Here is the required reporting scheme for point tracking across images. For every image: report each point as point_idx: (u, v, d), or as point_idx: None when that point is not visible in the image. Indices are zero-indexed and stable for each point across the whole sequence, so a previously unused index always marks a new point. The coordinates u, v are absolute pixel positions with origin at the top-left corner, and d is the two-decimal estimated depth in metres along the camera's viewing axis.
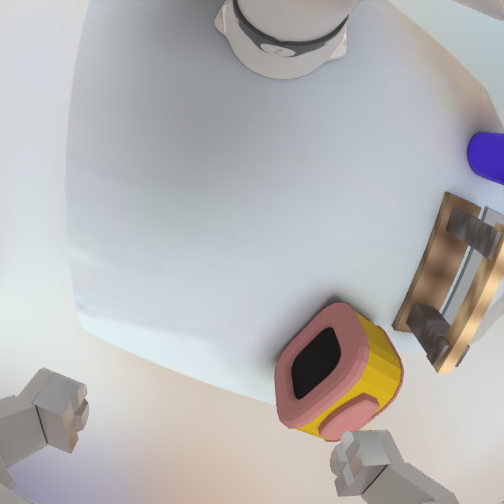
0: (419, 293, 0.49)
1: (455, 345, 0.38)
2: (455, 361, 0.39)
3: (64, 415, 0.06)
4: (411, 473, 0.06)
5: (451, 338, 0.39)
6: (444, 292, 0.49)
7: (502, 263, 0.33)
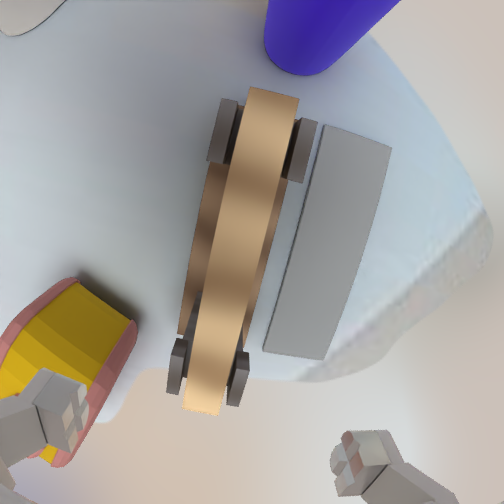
0: (200, 273, 0.34)
1: (194, 359, 0.22)
2: (218, 395, 0.23)
3: (64, 415, 0.06)
4: (411, 473, 0.06)
5: None
6: None
7: (257, 169, 0.18)
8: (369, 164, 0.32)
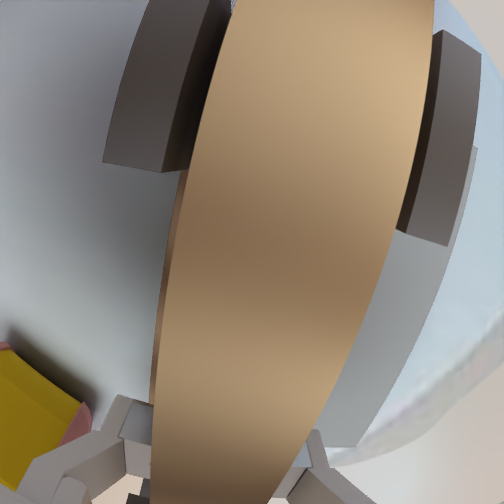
0: None
1: None
2: None
3: None
4: (334, 481, 0.06)
5: None
6: None
7: (310, 197, 0.04)
8: None
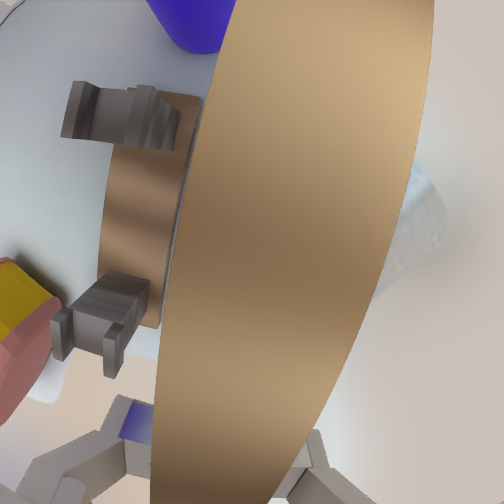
0: (110, 252, 0.33)
1: None
2: None
3: None
4: (334, 481, 0.06)
5: None
6: (159, 253, 0.33)
7: (309, 200, 0.04)
8: None
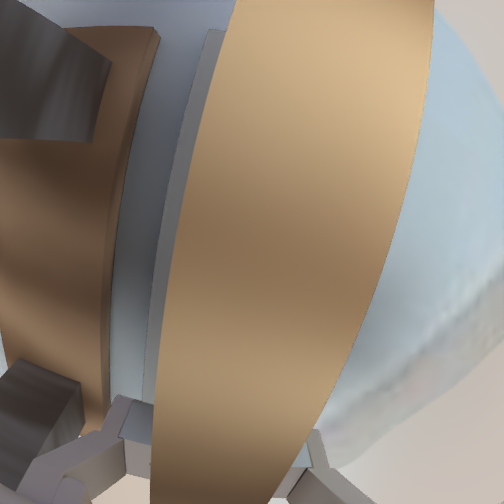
0: (14, 332, 0.15)
1: None
2: None
3: None
4: (334, 481, 0.06)
5: None
6: (86, 344, 0.15)
7: (309, 203, 0.04)
8: None
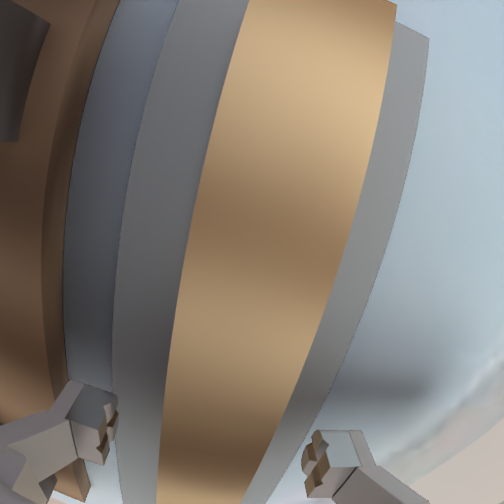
0: None
1: None
2: None
3: (100, 428, 0.06)
4: (382, 477, 0.06)
5: None
6: (40, 408, 0.10)
7: (289, 191, 0.06)
8: None
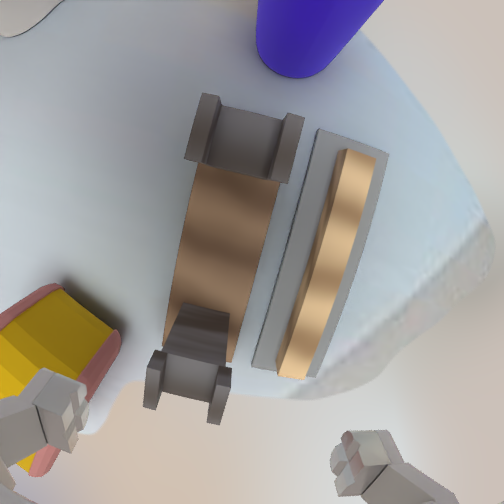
0: (186, 284, 0.32)
1: (295, 334, 0.31)
2: (307, 362, 0.32)
3: (64, 415, 0.06)
4: (411, 473, 0.06)
5: (292, 324, 0.32)
6: (243, 286, 0.32)
7: (350, 203, 0.28)
8: None
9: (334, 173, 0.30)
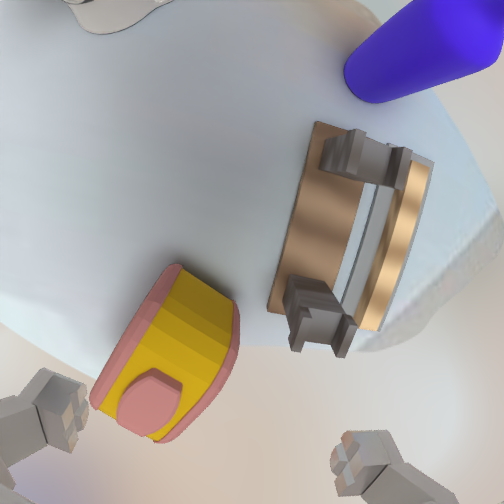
0: (293, 259, 0.41)
1: (374, 294, 0.40)
2: (380, 316, 0.41)
3: (64, 415, 0.06)
4: (411, 473, 0.06)
5: (369, 287, 0.42)
6: (336, 259, 0.41)
7: (413, 199, 0.37)
8: None
9: None
